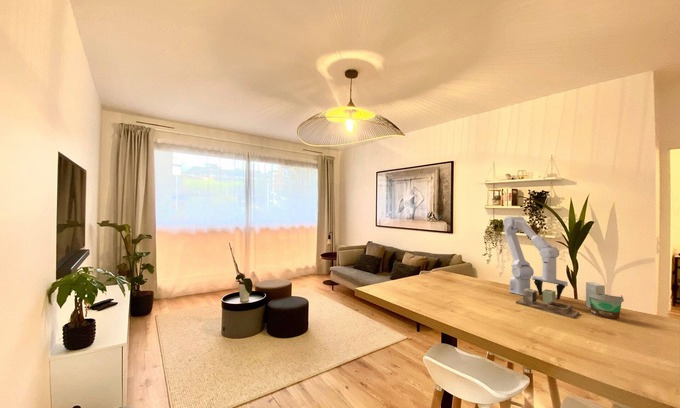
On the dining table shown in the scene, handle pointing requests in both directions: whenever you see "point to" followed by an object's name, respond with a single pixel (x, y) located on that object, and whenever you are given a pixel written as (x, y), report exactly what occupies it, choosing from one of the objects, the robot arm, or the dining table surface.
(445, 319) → the dining table surface
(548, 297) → the green block
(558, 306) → the brown fixture base
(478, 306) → the dining table surface
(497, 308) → the dining table surface
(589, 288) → the skincare box
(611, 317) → the food container
